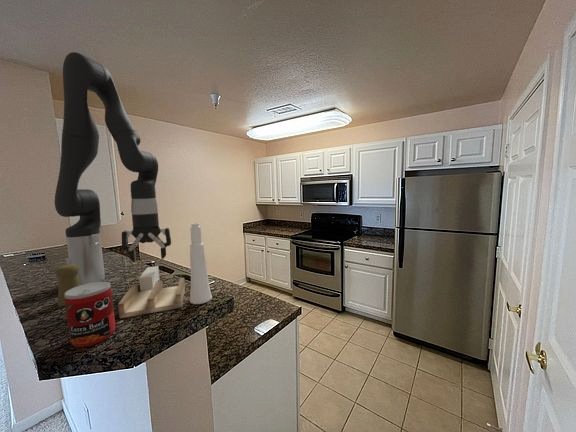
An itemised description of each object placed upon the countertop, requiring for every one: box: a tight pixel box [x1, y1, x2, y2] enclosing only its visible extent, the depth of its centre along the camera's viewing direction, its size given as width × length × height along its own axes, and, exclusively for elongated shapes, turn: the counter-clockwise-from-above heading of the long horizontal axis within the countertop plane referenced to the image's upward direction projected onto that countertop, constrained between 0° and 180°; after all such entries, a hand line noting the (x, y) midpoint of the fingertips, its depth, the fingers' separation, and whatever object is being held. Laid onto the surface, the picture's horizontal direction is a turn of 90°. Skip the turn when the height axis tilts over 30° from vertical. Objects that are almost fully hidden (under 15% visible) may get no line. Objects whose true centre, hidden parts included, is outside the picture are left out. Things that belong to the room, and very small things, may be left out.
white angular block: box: [138, 265, 160, 292], centre depth 82 cm, size 4×12×5 cm, turn 19°
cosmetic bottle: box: [189, 222, 213, 305], centre depth 69 cm, size 6×6×22 cm
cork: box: [55, 264, 81, 307], centre depth 72 cm, size 6×6×11 cm
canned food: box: [64, 281, 116, 348], centre depth 53 cm, size 8×8×11 cm
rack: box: [117, 277, 186, 319], centre depth 70 cm, size 14×14×4 cm
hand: (148, 259), depth 83 cm, fingers open, 8 cm apart
